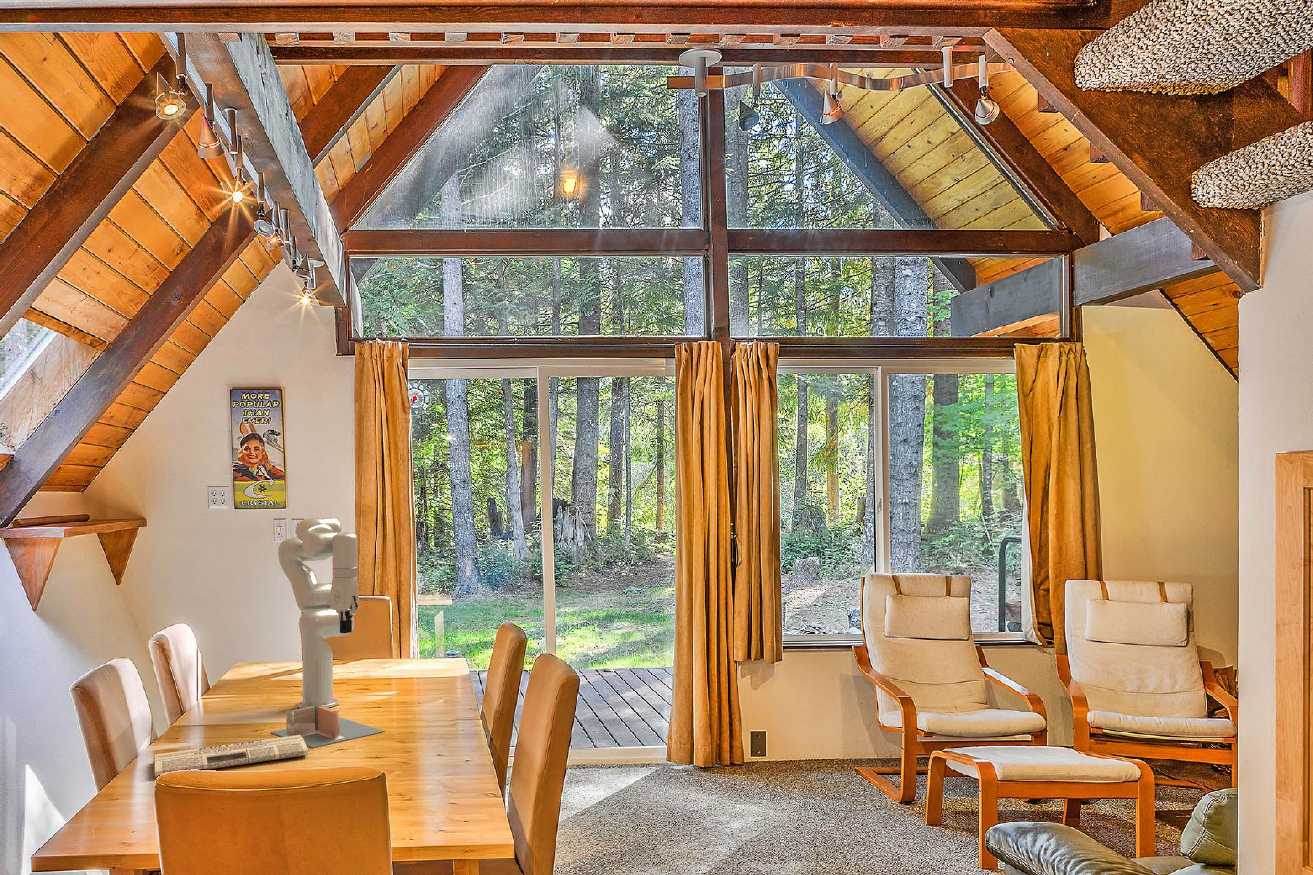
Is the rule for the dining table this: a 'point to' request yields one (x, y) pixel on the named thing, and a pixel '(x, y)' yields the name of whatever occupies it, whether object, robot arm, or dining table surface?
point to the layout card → (346, 733)
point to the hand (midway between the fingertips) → (345, 632)
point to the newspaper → (231, 754)
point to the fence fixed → (300, 721)
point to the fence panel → (327, 721)
